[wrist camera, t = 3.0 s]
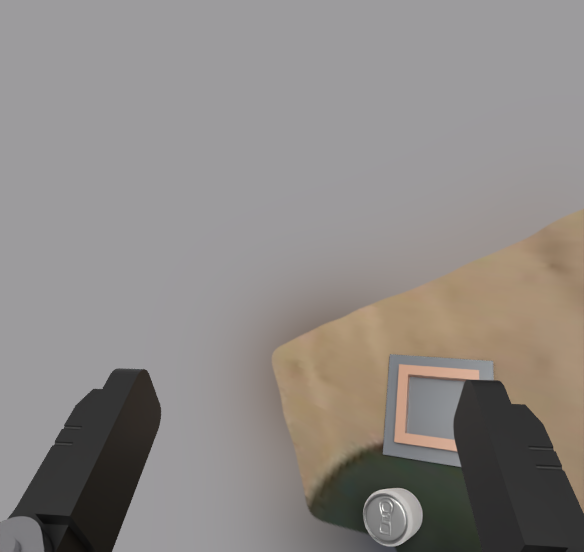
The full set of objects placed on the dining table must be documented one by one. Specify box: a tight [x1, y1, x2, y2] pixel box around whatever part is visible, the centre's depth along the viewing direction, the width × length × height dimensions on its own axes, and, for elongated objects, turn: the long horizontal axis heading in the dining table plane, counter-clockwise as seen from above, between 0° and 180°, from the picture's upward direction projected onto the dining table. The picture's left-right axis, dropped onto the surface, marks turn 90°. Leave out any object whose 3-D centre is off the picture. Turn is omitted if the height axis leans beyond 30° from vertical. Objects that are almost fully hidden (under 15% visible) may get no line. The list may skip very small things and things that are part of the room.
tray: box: [383, 354, 493, 467], centre depth 66 cm, size 16×16×3 cm
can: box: [363, 488, 423, 546], centre depth 58 cm, size 6×6×12 cm
